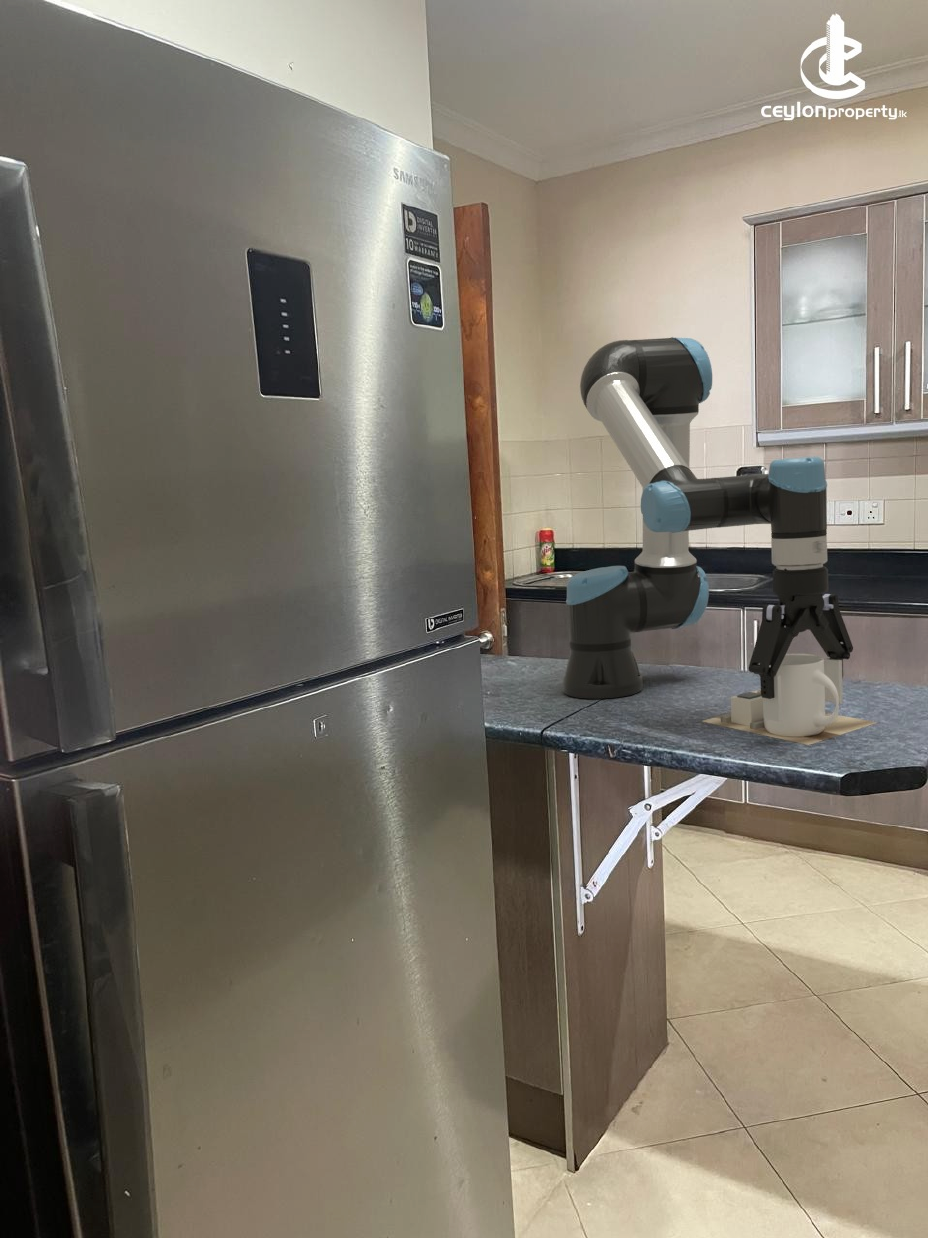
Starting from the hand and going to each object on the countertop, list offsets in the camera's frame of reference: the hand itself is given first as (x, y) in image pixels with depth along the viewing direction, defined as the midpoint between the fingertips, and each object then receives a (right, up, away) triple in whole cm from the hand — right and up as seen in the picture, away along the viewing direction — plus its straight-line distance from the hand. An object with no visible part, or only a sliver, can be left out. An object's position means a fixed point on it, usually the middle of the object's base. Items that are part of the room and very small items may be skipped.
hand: (803, 710), depth 137 cm
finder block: (-5, -2, +9) cm, 10 cm away
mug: (0, -3, 0) cm, 3 cm away
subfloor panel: (0, -4, +7) cm, 8 cm away
